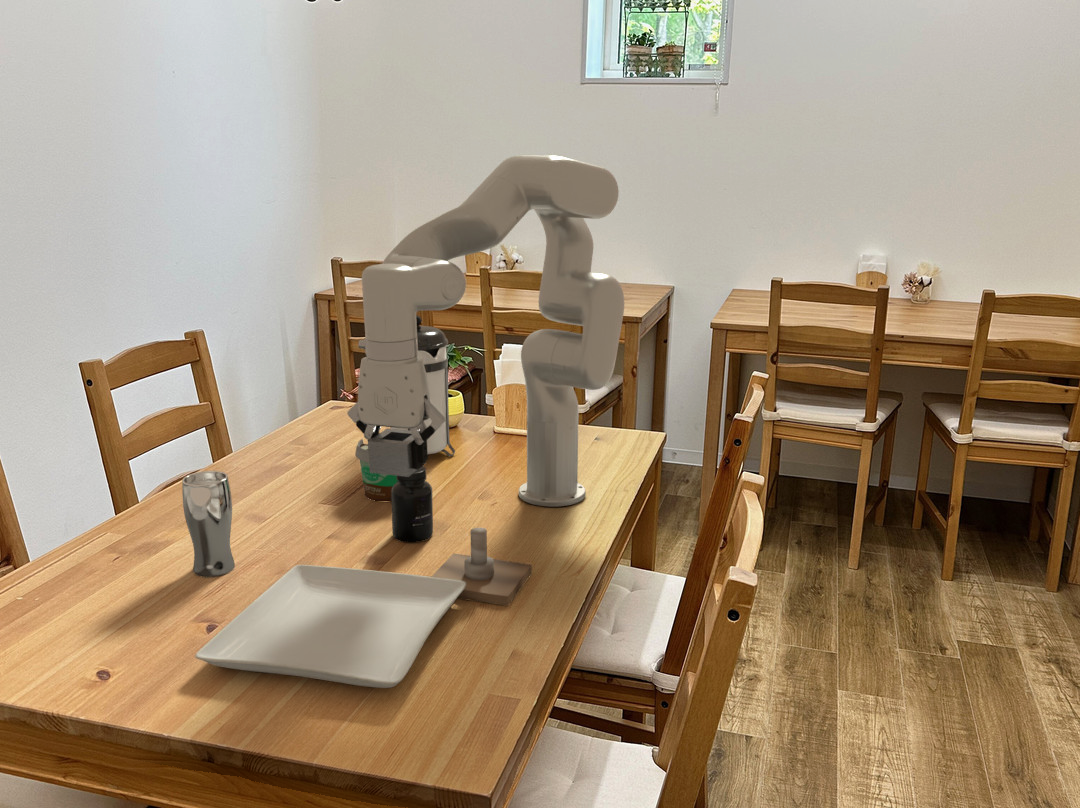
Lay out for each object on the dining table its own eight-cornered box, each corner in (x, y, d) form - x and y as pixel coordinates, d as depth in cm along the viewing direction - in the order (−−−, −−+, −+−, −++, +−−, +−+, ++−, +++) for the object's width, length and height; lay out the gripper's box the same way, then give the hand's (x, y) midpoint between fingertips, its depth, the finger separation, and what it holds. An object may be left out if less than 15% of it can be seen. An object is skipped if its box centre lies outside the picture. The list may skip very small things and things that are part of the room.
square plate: (469, 602, 133) (468, 577, 131) (399, 710, 107) (398, 681, 106) (298, 582, 138) (296, 558, 137) (193, 681, 113) (190, 652, 112)
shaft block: (453, 562, 144) (452, 512, 142) (531, 573, 141) (531, 522, 138) (424, 593, 134) (422, 539, 132) (508, 606, 130) (507, 551, 128)
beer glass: (247, 562, 144) (238, 473, 140) (218, 581, 138) (209, 488, 134) (210, 556, 146) (201, 467, 142) (180, 574, 140) (170, 482, 136)
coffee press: (466, 444, 202) (463, 310, 194) (442, 468, 187) (438, 323, 179) (392, 438, 206) (386, 306, 198) (363, 461, 191) (356, 319, 183)
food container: (344, 498, 170) (341, 447, 168) (362, 488, 176) (359, 438, 173) (401, 508, 166) (399, 456, 163) (418, 497, 171) (416, 446, 169)
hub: (389, 458, 143) (387, 428, 142) (426, 462, 141) (425, 431, 140) (369, 472, 137) (367, 441, 136) (408, 476, 135) (407, 445, 134)
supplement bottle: (426, 545, 150) (423, 476, 147) (386, 542, 152) (383, 474, 148) (438, 529, 157) (436, 463, 154) (400, 526, 158) (398, 460, 155)
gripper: (326, 351, 133) (335, 467, 138) (436, 358, 128) (441, 478, 133) (351, 340, 140) (359, 451, 145) (456, 347, 135) (460, 461, 140)
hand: (398, 463), depth 139 cm, fingers closed on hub, 6 cm apart
